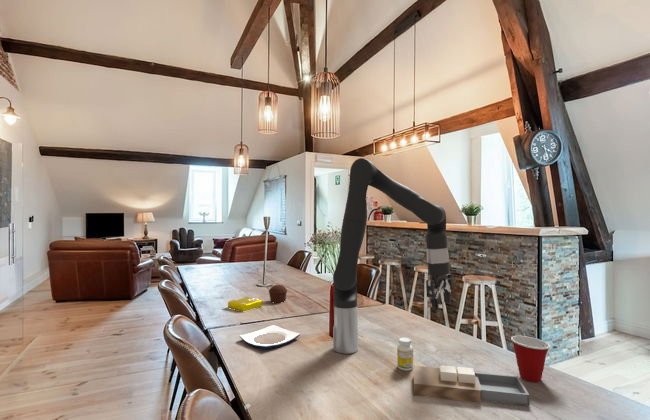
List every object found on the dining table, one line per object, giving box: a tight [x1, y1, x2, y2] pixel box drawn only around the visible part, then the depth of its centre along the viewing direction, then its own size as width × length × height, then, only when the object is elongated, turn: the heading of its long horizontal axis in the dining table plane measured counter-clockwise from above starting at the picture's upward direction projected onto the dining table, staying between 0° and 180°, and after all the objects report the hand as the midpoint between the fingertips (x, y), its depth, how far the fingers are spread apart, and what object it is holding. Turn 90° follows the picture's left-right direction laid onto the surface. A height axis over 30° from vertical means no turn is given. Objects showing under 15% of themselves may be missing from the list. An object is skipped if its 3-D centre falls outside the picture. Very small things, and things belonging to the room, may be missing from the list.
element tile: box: [227, 296, 263, 312], centre depth 199 cm, size 15×15×5 cm
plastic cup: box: [510, 335, 551, 383], centre depth 109 cm, size 11×11×12 cm
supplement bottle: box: [396, 337, 414, 372], centre depth 118 cm, size 5×5×10 cm
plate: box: [239, 324, 301, 350], centre depth 146 cm, size 20×20×3 cm
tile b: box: [456, 366, 475, 384], centre depth 102 cm, size 4×4×2 cm
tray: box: [474, 371, 531, 407], centre depth 100 cm, size 12×11×3 cm
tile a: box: [439, 364, 457, 382], centre depth 103 cm, size 4×4×2 cm
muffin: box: [268, 284, 288, 304], centre depth 211 cm, size 12×11×10 cm
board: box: [413, 365, 482, 404], centre depth 103 cm, size 18×12×4 cm, turn 75°
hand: (441, 305), depth 122 cm, fingers open, 8 cm apart
